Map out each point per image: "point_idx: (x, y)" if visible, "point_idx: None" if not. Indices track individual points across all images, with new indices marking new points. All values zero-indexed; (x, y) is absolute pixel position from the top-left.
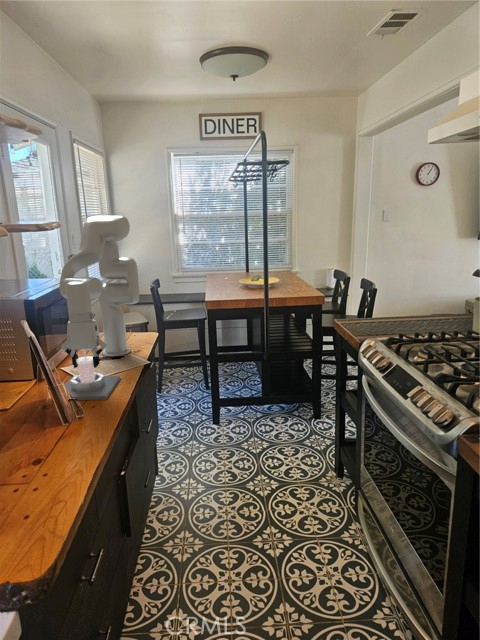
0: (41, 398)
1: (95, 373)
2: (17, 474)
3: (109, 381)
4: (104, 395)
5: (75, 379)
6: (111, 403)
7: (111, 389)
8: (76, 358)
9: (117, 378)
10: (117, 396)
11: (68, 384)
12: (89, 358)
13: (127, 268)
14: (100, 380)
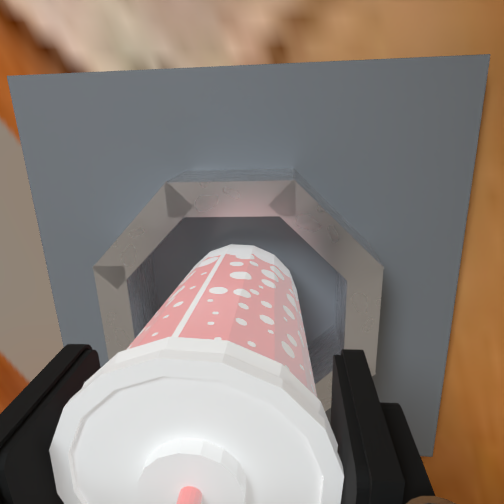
0: (11, 396)
1: (274, 212)
2: None
3: (402, 207)
4: (418, 445)
5: (136, 332)
6: (466, 482)
7: (445, 342)
8: (44, 496)
9: (469, 133)
10: (493, 402)
11: (74, 258)
12: (244, 448)
13: None
14: (374, 366)
